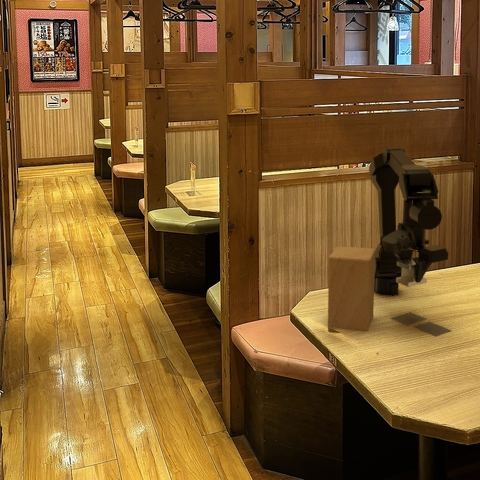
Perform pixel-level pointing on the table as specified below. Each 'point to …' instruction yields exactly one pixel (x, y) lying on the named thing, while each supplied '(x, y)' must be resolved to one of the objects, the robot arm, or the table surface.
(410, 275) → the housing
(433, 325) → the stand
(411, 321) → the stand
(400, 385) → the table surface
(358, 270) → the wooden block
